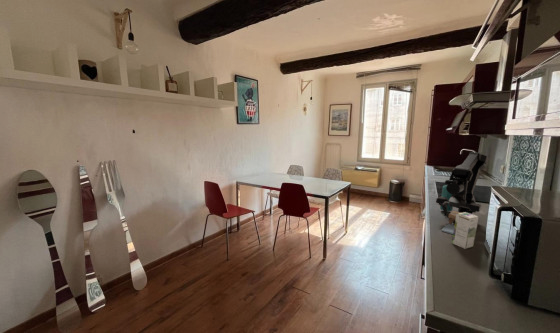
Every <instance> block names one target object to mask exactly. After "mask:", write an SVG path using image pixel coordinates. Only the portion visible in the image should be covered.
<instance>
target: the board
mask: <svg viewBox="0 0 560 333" xmlns="http://www.w3.org/2000/svg"><path fill="white" fill-rule="evenodd" d="M454 226H455V224H452V225H451V224H449V223H447V224H446V225H445V226H444V227H443V228H442V229H441V232H444V233H447V234H451V235H453V232H454Z"/></svg>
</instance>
